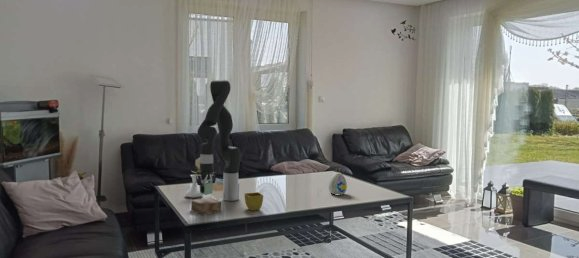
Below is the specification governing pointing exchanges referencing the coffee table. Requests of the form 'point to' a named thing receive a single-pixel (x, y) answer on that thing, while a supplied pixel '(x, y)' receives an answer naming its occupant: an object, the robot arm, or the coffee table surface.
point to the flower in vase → (194, 183)
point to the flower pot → (253, 200)
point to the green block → (207, 188)
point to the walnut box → (206, 206)
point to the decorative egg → (337, 184)
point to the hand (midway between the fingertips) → (206, 191)
